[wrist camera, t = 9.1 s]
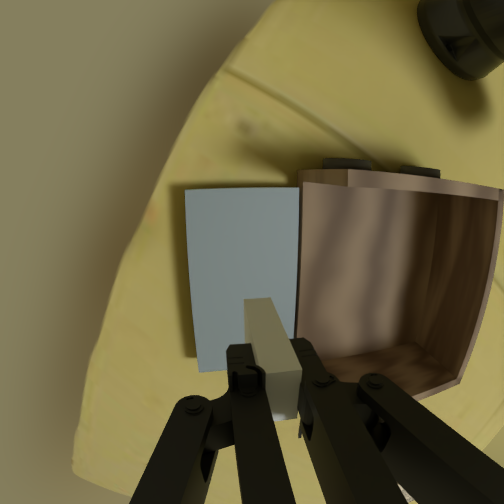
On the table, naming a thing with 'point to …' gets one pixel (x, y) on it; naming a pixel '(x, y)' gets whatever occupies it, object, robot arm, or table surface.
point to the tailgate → (239, 262)
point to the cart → (394, 271)
